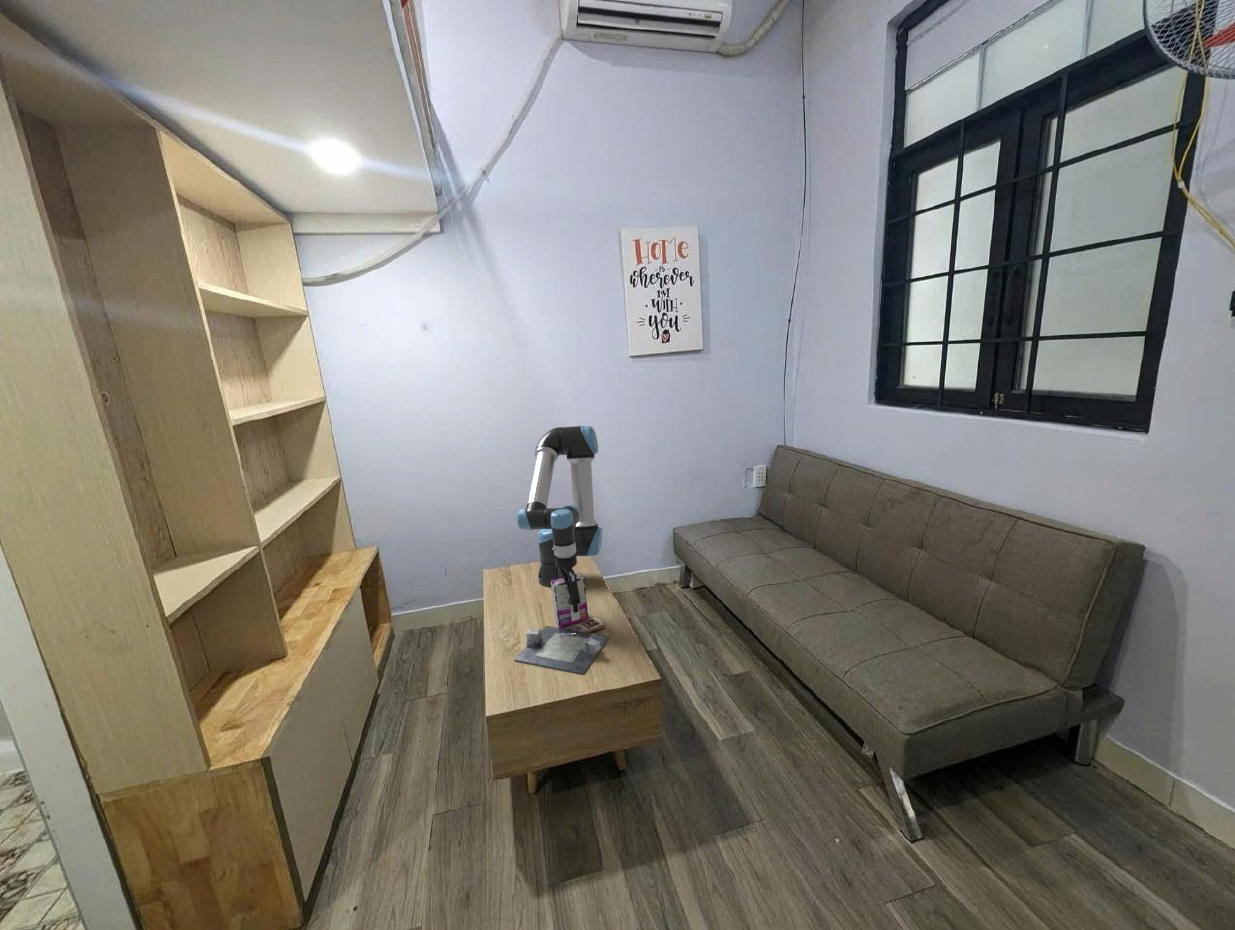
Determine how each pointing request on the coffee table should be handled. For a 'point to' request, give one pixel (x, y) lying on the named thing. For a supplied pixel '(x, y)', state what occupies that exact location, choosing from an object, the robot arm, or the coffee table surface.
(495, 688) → the coffee table surface
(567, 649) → the base
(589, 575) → the coffee table surface
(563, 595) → the candy bar box
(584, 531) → the robot arm
